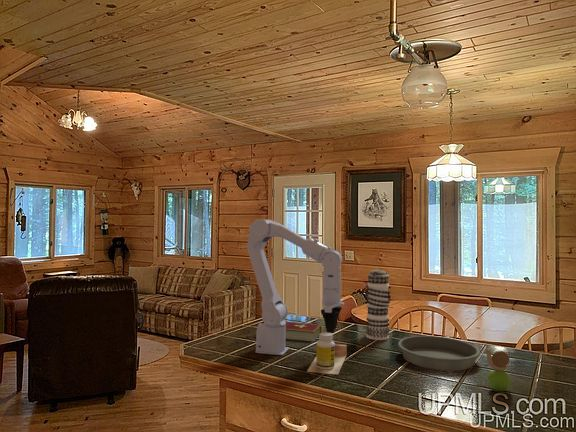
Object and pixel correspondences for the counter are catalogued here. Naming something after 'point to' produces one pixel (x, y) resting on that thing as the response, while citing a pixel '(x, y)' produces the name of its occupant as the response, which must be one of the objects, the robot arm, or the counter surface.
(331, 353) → the supplement bottle
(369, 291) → the decorative candle
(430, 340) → the cake pan
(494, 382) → the snail figurine
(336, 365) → the strip
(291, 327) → the hardcover book
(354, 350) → the counter surface
